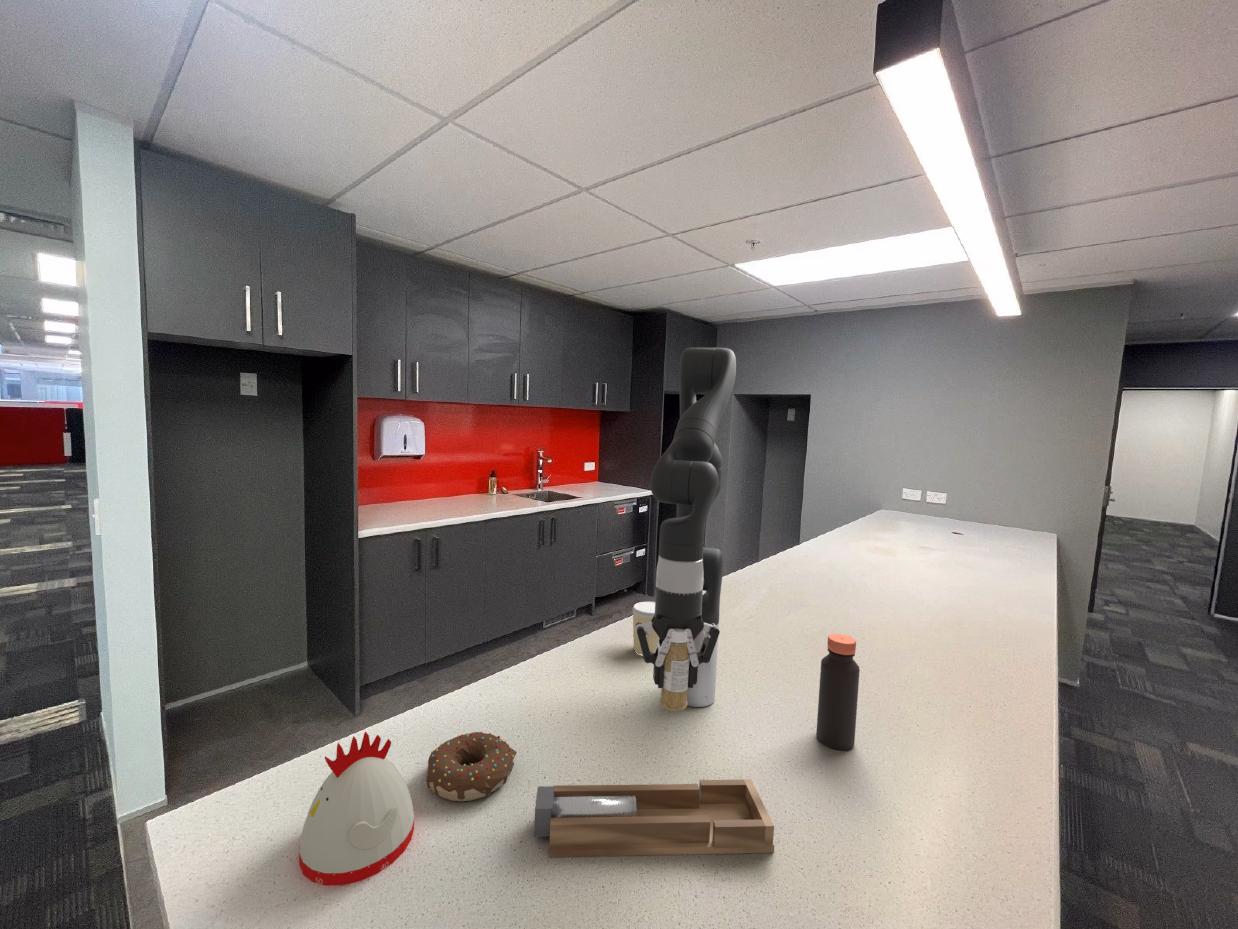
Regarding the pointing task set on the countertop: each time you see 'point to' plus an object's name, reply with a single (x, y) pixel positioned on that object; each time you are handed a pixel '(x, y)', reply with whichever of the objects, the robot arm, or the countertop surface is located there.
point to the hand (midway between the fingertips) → (674, 685)
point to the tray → (668, 821)
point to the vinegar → (838, 694)
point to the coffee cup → (643, 614)
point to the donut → (469, 766)
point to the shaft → (578, 808)
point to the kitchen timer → (356, 817)
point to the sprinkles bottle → (676, 673)
